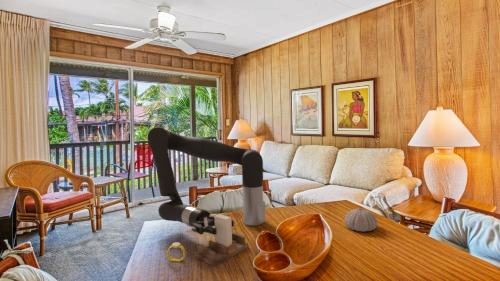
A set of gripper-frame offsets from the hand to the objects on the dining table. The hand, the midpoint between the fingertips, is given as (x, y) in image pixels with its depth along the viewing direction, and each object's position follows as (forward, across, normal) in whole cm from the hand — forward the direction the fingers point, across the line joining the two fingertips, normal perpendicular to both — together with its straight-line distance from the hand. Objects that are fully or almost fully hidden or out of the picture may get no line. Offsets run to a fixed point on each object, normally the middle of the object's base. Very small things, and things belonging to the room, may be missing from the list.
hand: (225, 227), depth 98 cm
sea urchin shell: (+30, +51, +10) cm, 60 cm away
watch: (-10, -14, +10) cm, 20 cm away
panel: (-1, 0, +8) cm, 8 cm away
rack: (-2, 0, +10) cm, 10 cm away
